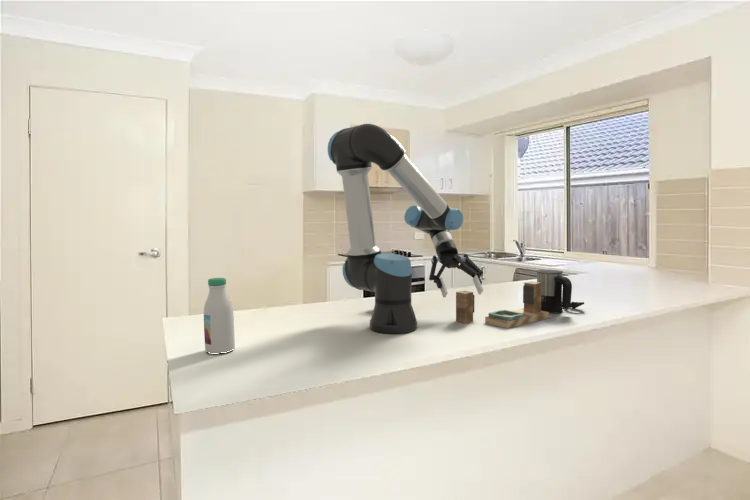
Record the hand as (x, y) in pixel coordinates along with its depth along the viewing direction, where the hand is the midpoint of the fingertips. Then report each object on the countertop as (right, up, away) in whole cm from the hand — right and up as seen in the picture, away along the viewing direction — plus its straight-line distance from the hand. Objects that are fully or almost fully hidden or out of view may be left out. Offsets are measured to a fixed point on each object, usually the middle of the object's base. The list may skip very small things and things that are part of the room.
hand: (463, 293), depth 157 cm
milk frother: (+37, -7, +11) cm, 40 cm away
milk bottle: (-73, -13, -33) cm, 81 cm away
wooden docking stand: (+18, -9, -3) cm, 20 cm away
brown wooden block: (0, -9, -4) cm, 10 cm away
